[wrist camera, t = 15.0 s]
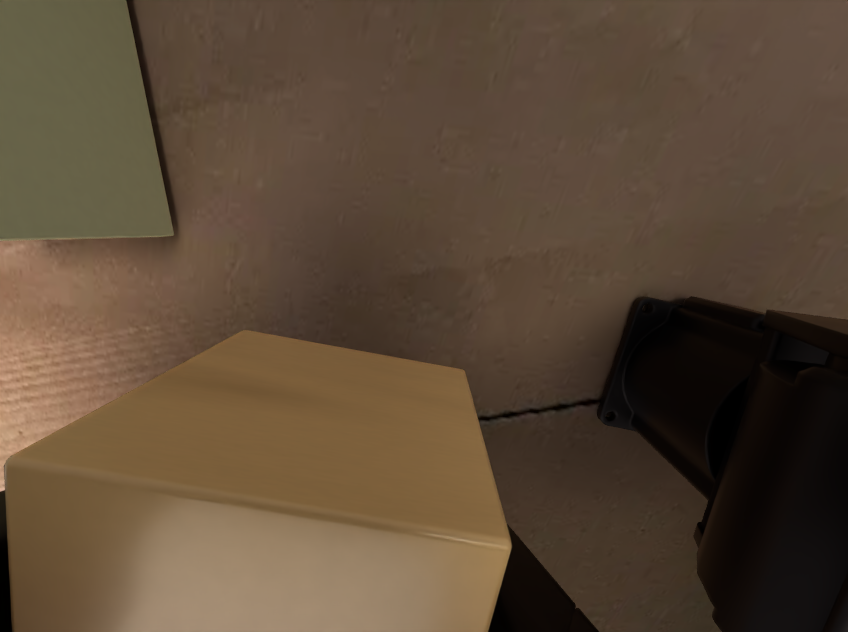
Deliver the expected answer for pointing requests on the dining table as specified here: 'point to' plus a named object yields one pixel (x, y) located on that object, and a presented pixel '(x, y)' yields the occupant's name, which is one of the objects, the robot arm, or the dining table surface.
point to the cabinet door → (75, 125)
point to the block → (262, 501)
